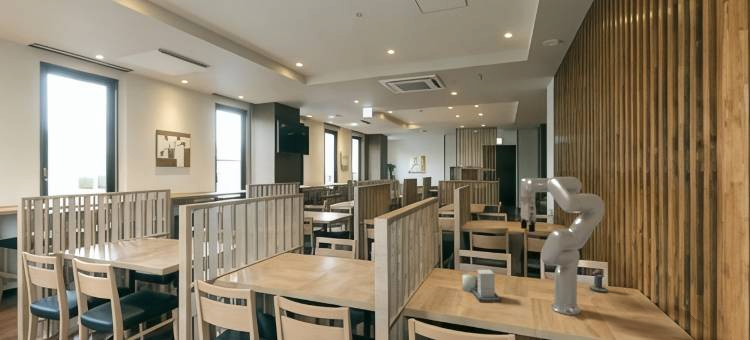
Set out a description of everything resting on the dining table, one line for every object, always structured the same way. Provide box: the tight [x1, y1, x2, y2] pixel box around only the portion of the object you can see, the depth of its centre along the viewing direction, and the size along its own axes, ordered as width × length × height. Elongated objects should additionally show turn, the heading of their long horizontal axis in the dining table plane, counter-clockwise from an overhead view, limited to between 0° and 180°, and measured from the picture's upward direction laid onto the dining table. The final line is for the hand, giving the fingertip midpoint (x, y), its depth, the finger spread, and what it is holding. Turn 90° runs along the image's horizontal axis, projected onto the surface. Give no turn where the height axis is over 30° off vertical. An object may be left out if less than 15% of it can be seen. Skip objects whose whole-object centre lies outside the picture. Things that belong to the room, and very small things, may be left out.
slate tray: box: [471, 289, 502, 303], centre depth 192 cm, size 14×11×2 cm
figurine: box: [588, 268, 608, 294], centre depth 202 cm, size 8×8×12 cm
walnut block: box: [475, 276, 478, 289], centre depth 208 cm, size 5×5×5 cm
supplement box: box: [477, 269, 496, 297], centre depth 193 cm, size 7×7×13 cm
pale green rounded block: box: [461, 273, 476, 293], centre depth 203 cm, size 7×7×8 cm
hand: (527, 230), depth 204 cm, fingers open, 9 cm apart
